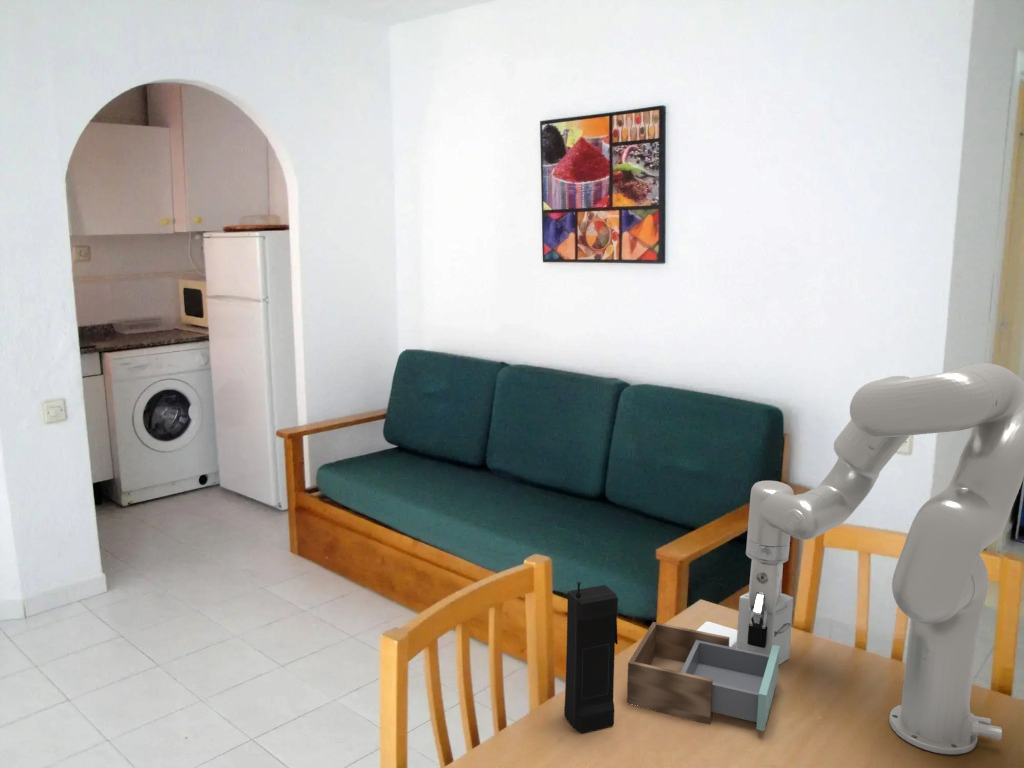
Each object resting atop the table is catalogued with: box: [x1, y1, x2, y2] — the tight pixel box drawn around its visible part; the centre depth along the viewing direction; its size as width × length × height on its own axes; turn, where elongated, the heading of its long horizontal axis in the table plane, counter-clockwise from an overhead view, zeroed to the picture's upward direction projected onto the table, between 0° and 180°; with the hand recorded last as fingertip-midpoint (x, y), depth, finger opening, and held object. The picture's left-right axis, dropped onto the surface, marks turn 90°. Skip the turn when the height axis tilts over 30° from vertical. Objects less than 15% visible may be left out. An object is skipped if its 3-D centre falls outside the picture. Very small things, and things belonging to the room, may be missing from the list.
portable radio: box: [563, 581, 619, 734], centre depth 132 cm, size 8×6×25 cm
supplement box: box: [735, 591, 794, 665], centre depth 153 cm, size 7×7×13 cm
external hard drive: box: [695, 620, 738, 648], centre depth 160 cm, size 2×8×12 cm
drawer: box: [681, 640, 780, 732], centre depth 139 cm, size 14×17×6 cm
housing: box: [626, 621, 730, 725], centre depth 143 cm, size 14×16×8 cm
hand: (760, 633), depth 153 cm, fingers closed on supplement box, 9 cm apart
